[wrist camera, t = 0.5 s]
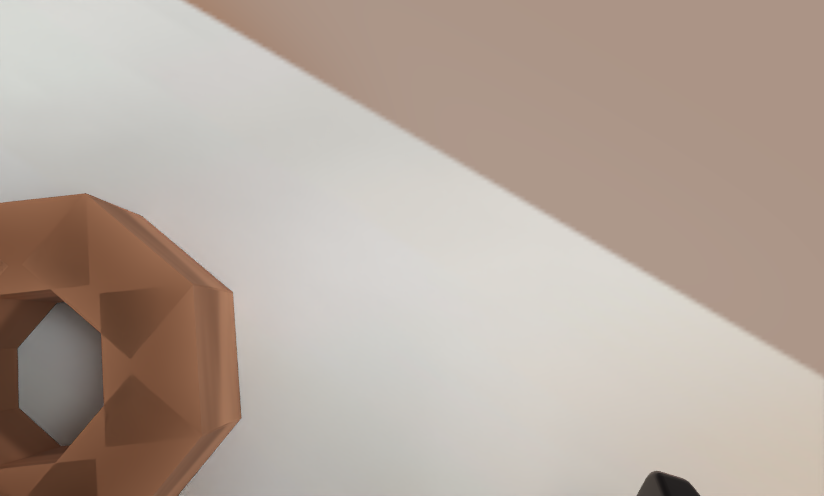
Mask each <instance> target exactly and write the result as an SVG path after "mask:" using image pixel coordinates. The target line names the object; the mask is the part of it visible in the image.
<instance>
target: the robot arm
mask: <svg viewBox="0 0 824 496" xmlns="http://www.w3.org/2000/svg"><path fill="white" fill-rule="evenodd" d="M637 496H700V495H699V493H698V492H697V491H696V490H695V488H694V487H693V486H692V485H691V484H690V483H689V482H688V481H687V480H685V479H683V478H680V477H677V476H674V475H670V474H667V473H664V472H661V471H654V472H651V473H650V474H649V475H648V476H647V478H646V479H645V481H644V483H643V485H642V487H641V489H640V490H639V492H638V494H637Z"/></svg>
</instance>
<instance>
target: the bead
mask: <svg viewBox="0 0 824 496" xmlns="http://www.w3.org/2000/svg"><path fill="white" fill-rule="evenodd" d="M59 302H65V303H67V304H68V305H69V306H70V307H71V308H72V309H74V310H75V311H76V312H77V313H78V314H79V315H80V316H82V317H83V318H84V319H85V320H86V321H87V322H88V323H90V324H91V325H92V326H93V327H94V328H95V329H96V330H98V331H99V332H100V333H101V345H102V370H103V396H104V406H103V407H102V408H101V409H100V411H99V412H98V413H97V414H96V415H95V417H94V418H93V419H92V420H91V421H90V422H89V424H88V425H87V426H86V427H85V428H84V430H83V431H82V432H81V433H80V434H79V435H78V437H77V438H76V439H75V440H74V441H73V443H72V444H71V445H69V446H60V445H59V444H58V443H57V442H56V441H55V440H54V439H53V438H51V437H50V436H49V435H48V434H47V433H46V432H45V431H44V430H43V429H42V428H40V427H39V426H38V425H37V424H36V423H35V422H34V421H33V420H32V419H30V418H29V417H28V416H27V415H26V414H25V413H24V412H23V411H22V410H20V409H19V403H18V356H17V348H18V347H19V346H20V345H21V343H22V342H23V341H24V340H25V339H26V338H27V337H28V335H29V334H30V333H31V332H32V331H33V330H34V329H35V327H36V326H37V325H38V324H39V323H40V322H41V320H42V319H43V318H44V317H45V316H46V315H47V314H48V312H49V311H50V310H51V309H52V308H53V307H54V305H55V304H56V303H59ZM241 418H242V417H241V406H240V392H239V377H238V362H237V347H236V333H235V318H234V303H233V292H232V291H231V290H229V289H228V288H227V287H226V286H225V285H223V284H222V283H221V282H220V281H219V280H217V279H216V278H215V277H214V276H213V275H211V274H210V273H209V272H208V271H207V270H206V269H204V268H203V267H202V266H201V265H200V264H198V263H197V262H196V261H195V260H194V259H192V258H191V257H190V256H189V255H188V254H186V253H185V252H184V251H183V250H182V249H180V248H179V247H178V246H177V245H176V244H174V243H173V242H172V241H171V240H170V239H169V238H167V237H166V236H165V235H164V234H163V233H161V232H160V231H159V230H158V229H157V228H155V227H154V226H153V225H152V224H151V223H149V222H148V221H147V220H146V219H145V218H143V216H140V215H138V214H135V213H133V212H130V211H128V210H126V209H123V208H121V207H118V206H116V205H113V204H111V203H108V202H106V201H103V200H101V199H98V198H96V197H94V196H91V195H89V194H86V193H85V194H77V195H68V196H58V197H49V198H40V199H31V200H22V201H13V202H4V203H0V496H178V495H179V493H180V492H181V491H182V490H183V489H184V487H185V486H186V485H187V484H188V482H189V481H190V480H191V479H192V478H193V476H194V475H195V474H196V473H197V471H198V470H199V469H200V468H201V467H202V465H203V464H204V463H205V462H206V460H207V459H208V458H209V457H210V456H211V454H212V453H213V452H214V451H215V449H216V448H217V447H218V446H219V445H220V443H221V442H222V441H223V440H224V438H225V437H226V436H227V435H228V434H229V432H230V431H231V430H232V429H233V427H234V426H235V425H236V424H237V423H238V421H239V420H240V419H241Z"/></svg>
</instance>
